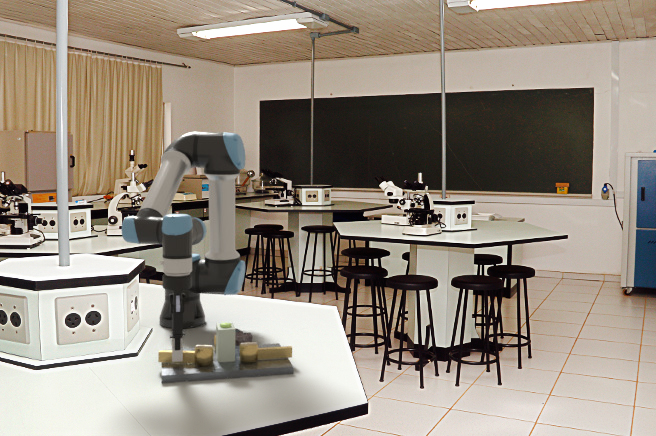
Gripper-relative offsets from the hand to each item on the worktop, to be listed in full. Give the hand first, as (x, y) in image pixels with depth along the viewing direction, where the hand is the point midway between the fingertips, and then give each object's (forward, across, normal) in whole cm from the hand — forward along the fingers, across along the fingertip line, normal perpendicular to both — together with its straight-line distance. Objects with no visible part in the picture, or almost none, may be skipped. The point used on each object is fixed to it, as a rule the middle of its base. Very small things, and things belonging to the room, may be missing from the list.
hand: (177, 360), depth 161 cm
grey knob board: (+3, -3, +13) cm, 14 cm away
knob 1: (+1, -1, +2) cm, 3 cm away
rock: (+3, -21, +17) cm, 27 cm away
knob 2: (+1, 0, +24) cm, 24 cm away
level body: (+1, -3, +13) cm, 13 cm away
